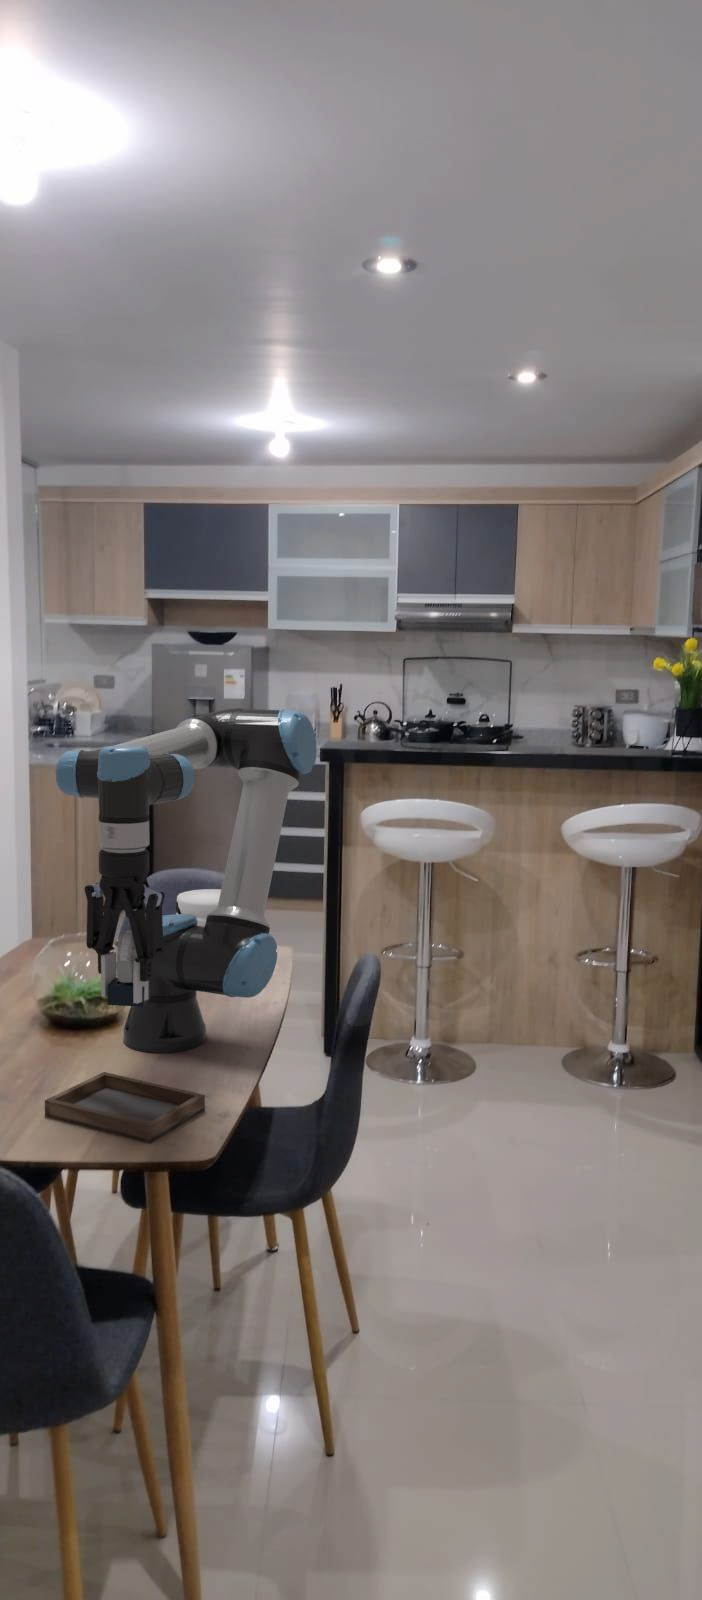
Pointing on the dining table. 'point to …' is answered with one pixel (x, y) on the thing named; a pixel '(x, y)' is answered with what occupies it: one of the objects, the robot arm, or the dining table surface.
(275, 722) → the robot arm
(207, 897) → the white pedestal bowl
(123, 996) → the watch
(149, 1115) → the valet tray
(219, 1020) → the dining table surface
